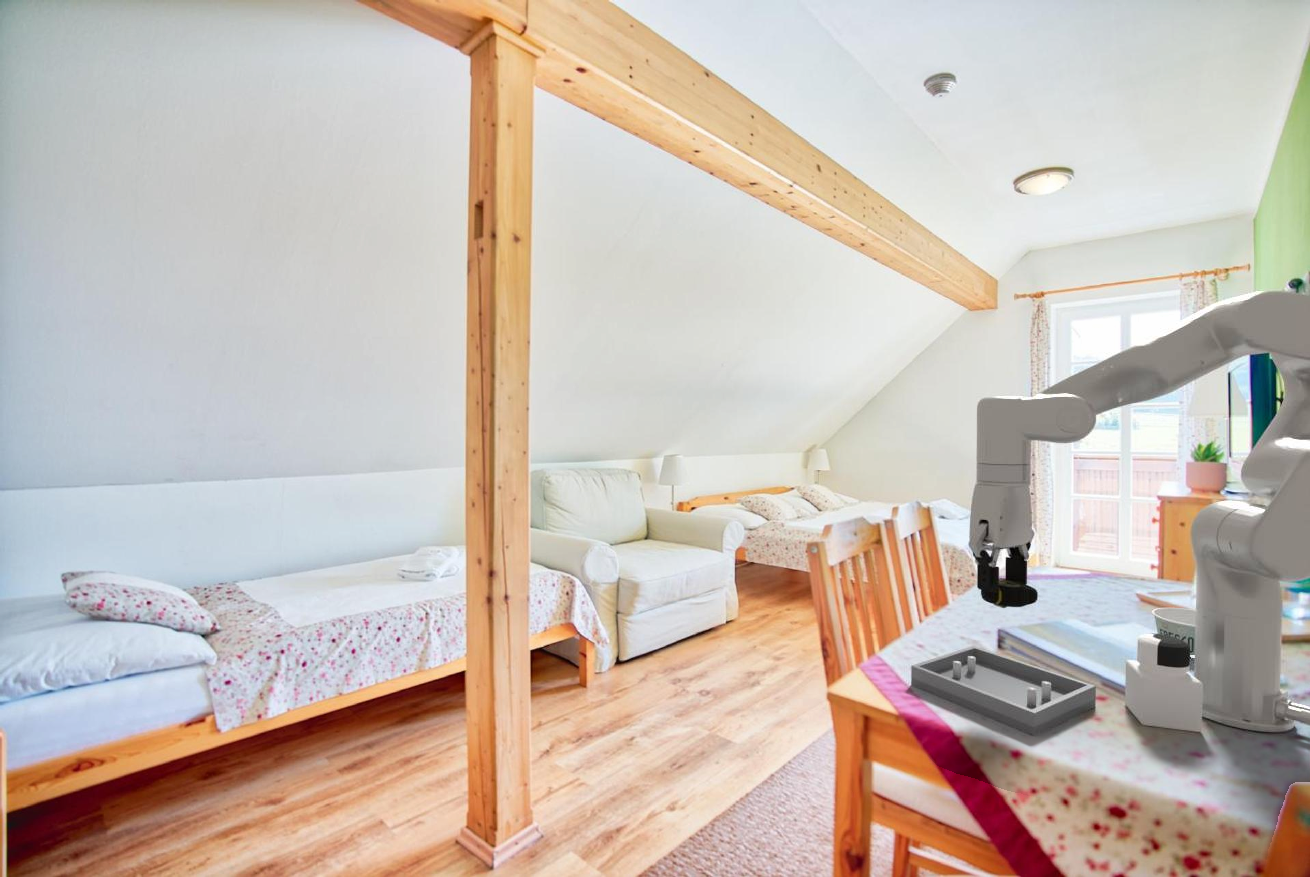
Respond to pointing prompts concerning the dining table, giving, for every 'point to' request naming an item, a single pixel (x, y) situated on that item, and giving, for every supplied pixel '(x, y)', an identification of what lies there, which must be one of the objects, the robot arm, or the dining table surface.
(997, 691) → the pin tray
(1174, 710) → the medicine bottle
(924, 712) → the dining table surface
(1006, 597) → the tape measure
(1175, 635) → the food container
